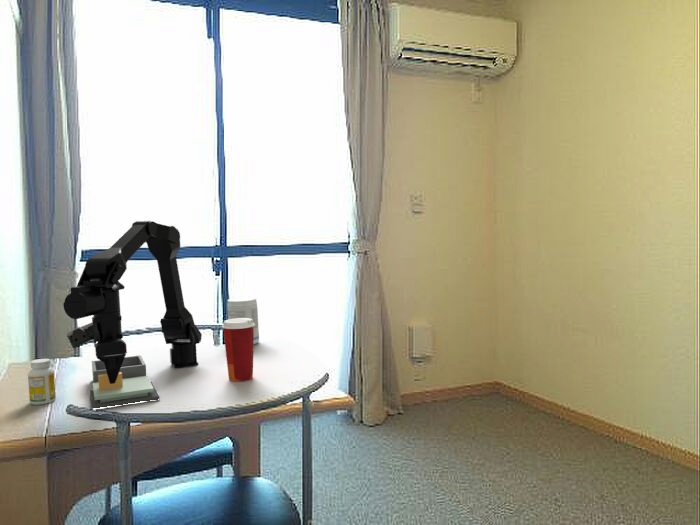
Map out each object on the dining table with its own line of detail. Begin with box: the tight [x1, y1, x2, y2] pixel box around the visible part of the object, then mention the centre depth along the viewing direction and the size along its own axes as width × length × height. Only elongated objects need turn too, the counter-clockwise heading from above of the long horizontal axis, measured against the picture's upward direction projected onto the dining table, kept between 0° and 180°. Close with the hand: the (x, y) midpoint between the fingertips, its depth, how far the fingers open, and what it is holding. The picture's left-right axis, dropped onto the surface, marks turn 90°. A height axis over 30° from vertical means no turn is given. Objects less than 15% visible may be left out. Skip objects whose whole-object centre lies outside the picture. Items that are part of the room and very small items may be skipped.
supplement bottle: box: [27, 358, 57, 406], centre depth 136 cm, size 5×5×10 cm
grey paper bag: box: [226, 296, 260, 346], centre depth 193 cm, size 10×10×15 cm
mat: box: [89, 380, 160, 409], centre depth 138 cm, size 14×14×1 cm
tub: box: [91, 355, 147, 384], centre depth 151 cm, size 12×12×5 cm
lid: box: [92, 372, 154, 402], centre depth 138 cm, size 12×12×5 cm
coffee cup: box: [221, 318, 255, 383], centre depth 151 cm, size 8×8×15 cm
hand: (111, 378), depth 137 cm, fingers open, 9 cm apart
